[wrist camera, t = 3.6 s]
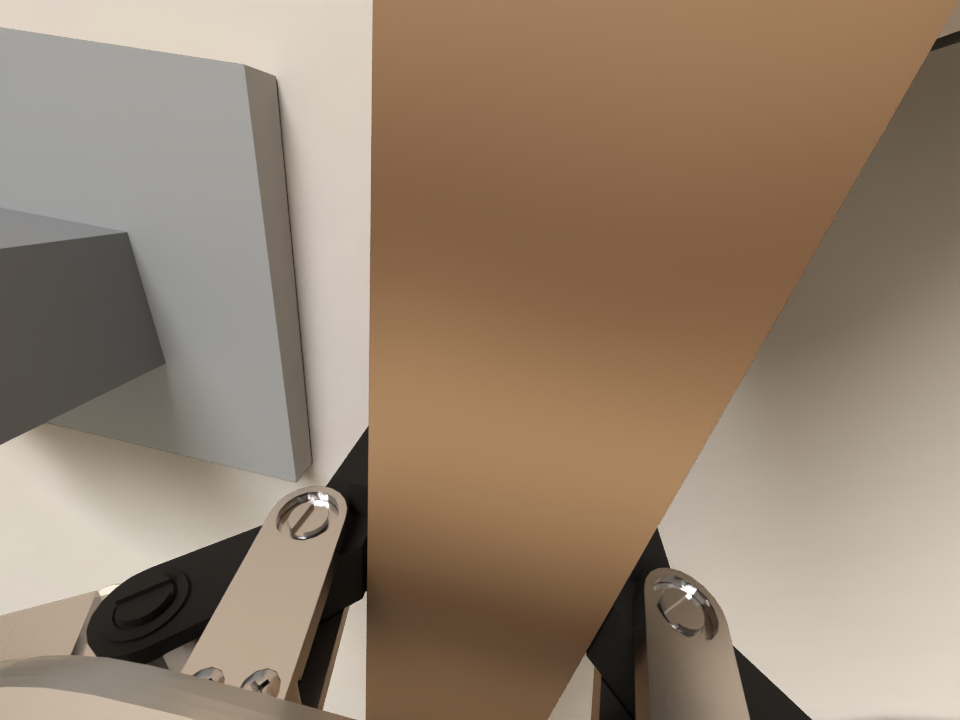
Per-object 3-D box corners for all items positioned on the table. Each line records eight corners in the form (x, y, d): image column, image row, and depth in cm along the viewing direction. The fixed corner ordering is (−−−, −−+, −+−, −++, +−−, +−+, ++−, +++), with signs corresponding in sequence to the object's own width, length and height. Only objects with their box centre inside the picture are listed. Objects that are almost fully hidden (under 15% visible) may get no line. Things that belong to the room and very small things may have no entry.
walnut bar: (513, 592, 16) (498, 803, 10) (424, 569, 16) (365, 764, 11) (687, 77, 7) (1062, -180, 2) (492, 48, 8) (375, -247, 2)
